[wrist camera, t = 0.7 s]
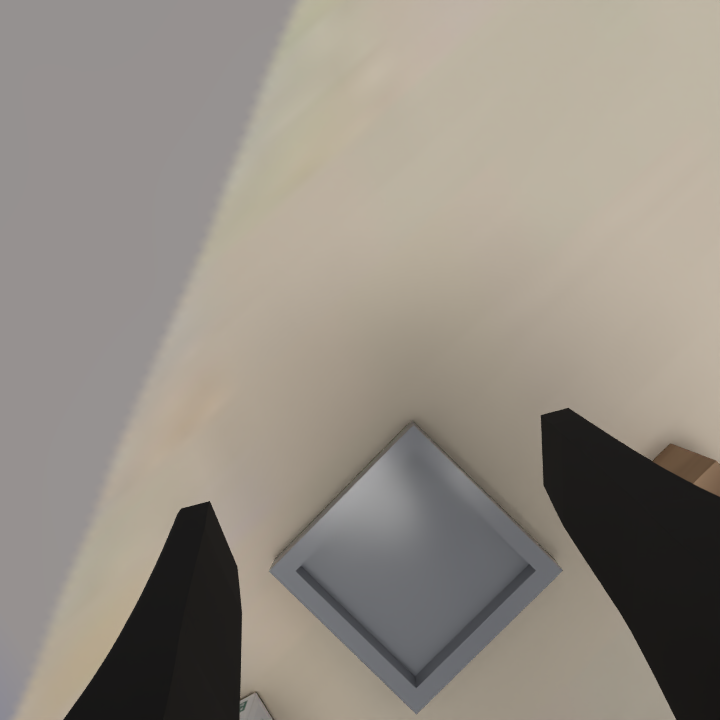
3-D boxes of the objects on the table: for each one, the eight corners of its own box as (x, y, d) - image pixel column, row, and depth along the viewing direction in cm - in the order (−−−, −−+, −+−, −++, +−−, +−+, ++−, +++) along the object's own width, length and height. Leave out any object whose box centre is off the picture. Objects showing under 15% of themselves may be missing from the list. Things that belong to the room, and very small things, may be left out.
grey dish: (553, 558, 37) (563, 570, 35) (414, 695, 37) (416, 714, 35) (411, 420, 36) (413, 424, 35) (274, 559, 37) (268, 571, 35)
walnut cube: (734, 506, 36) (791, 534, 31) (668, 570, 37) (714, 607, 32) (669, 443, 36) (716, 460, 31) (604, 507, 36) (640, 535, 31)
